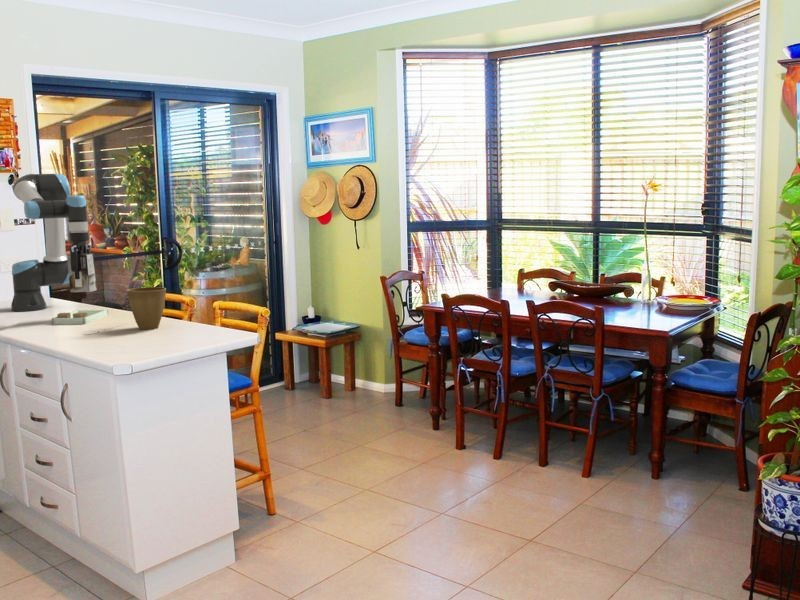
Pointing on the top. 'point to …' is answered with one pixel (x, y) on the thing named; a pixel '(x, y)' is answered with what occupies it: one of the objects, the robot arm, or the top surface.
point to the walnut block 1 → (63, 315)
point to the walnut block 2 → (80, 315)
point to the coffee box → (83, 274)
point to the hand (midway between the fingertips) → (83, 285)
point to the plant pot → (147, 305)
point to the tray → (91, 317)
